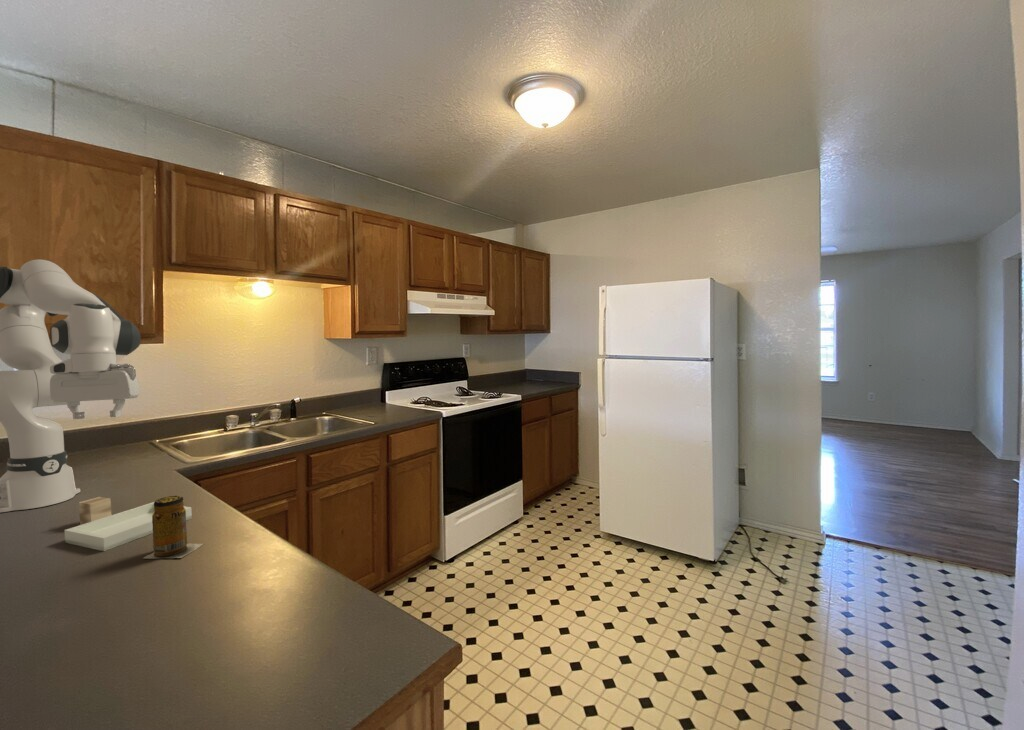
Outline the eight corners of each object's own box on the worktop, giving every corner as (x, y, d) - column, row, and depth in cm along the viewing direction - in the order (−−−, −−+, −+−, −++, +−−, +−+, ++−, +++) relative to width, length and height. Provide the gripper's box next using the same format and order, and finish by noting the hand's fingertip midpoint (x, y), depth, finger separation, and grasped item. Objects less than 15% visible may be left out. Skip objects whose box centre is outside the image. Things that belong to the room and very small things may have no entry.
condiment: (167, 544, 107) (165, 493, 106) (204, 544, 106) (201, 493, 106) (142, 559, 99) (139, 505, 99) (181, 559, 99) (178, 505, 99)
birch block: (80, 525, 118) (78, 502, 118) (100, 518, 122) (99, 496, 122) (91, 527, 116) (90, 504, 116) (111, 520, 121) (110, 498, 120)
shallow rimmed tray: (65, 542, 108) (64, 530, 107) (155, 512, 126) (154, 501, 126) (104, 551, 103) (103, 538, 103) (192, 518, 122) (191, 507, 122)
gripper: (144, 363, 123) (147, 414, 123) (66, 366, 123) (69, 418, 123) (124, 363, 117) (127, 417, 117) (42, 367, 116) (46, 421, 116)
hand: (97, 417), depth 120 cm, fingers open, 8 cm apart
